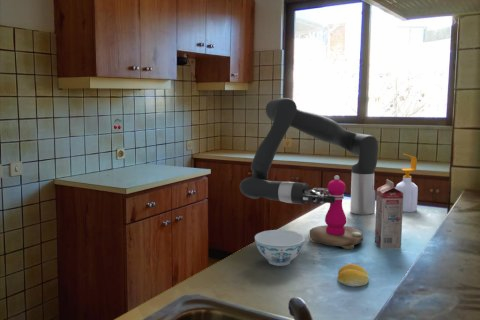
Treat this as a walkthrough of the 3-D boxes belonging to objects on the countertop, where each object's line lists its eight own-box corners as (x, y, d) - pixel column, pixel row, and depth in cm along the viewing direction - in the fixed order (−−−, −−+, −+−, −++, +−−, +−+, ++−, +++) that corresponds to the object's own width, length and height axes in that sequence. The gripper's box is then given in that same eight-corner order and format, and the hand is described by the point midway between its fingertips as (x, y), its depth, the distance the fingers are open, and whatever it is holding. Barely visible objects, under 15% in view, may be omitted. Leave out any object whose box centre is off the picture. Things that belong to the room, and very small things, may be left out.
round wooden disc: (340, 230, 169) (340, 220, 168) (374, 245, 153) (374, 234, 152) (299, 237, 162) (299, 227, 161) (329, 253, 145) (330, 242, 145)
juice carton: (380, 248, 150) (383, 183, 146) (374, 242, 156) (377, 179, 153) (400, 248, 150) (404, 182, 146) (393, 242, 156) (396, 179, 153)
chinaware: (247, 267, 135) (247, 242, 133) (263, 250, 148) (263, 227, 147) (297, 274, 129) (297, 248, 128) (309, 256, 143) (309, 232, 142)
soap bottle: (391, 207, 202) (393, 152, 198) (410, 206, 203) (413, 152, 199) (400, 212, 193) (403, 155, 190) (420, 212, 194) (423, 155, 191)
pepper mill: (344, 229, 160) (346, 173, 157) (347, 236, 153) (349, 177, 150) (323, 229, 161) (325, 173, 158) (325, 235, 154) (326, 177, 151)
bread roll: (337, 286, 122) (337, 272, 121) (338, 273, 130) (338, 260, 130) (369, 289, 120) (369, 274, 119) (368, 276, 128) (368, 262, 128)
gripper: (286, 186, 155) (332, 190, 148) (300, 178, 168) (344, 182, 160) (285, 207, 156) (332, 213, 149) (300, 198, 169) (343, 203, 161)
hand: (338, 197), depth 155 cm, fingers open, 8 cm apart
